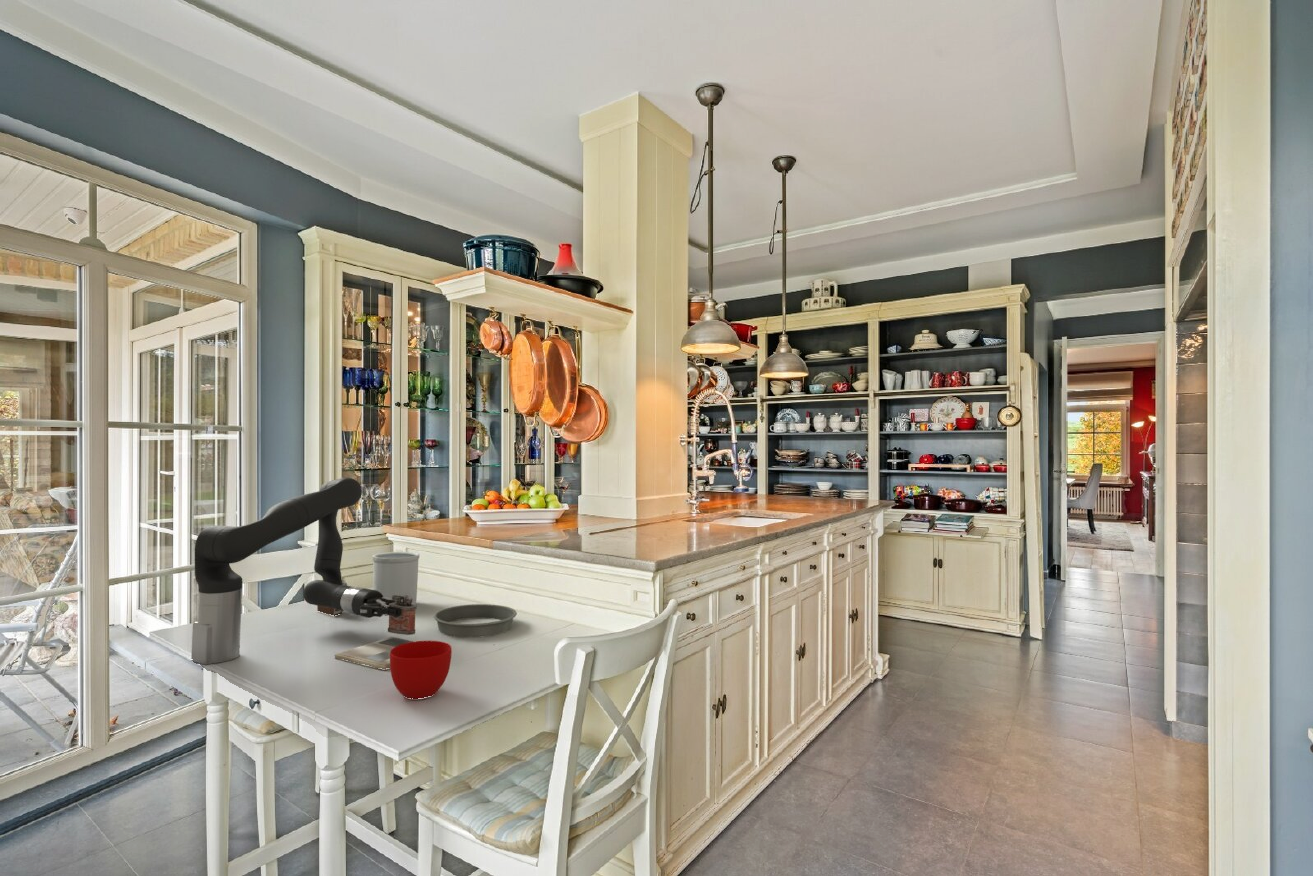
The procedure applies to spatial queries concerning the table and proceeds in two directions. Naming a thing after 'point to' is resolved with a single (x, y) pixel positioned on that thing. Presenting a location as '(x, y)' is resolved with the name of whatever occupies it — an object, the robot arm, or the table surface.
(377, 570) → the utensil holder
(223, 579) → the robot arm
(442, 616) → the cake pan
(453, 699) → the table surface
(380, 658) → the book
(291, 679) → the table surface
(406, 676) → the red bowl
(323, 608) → the food container
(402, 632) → the lighter
